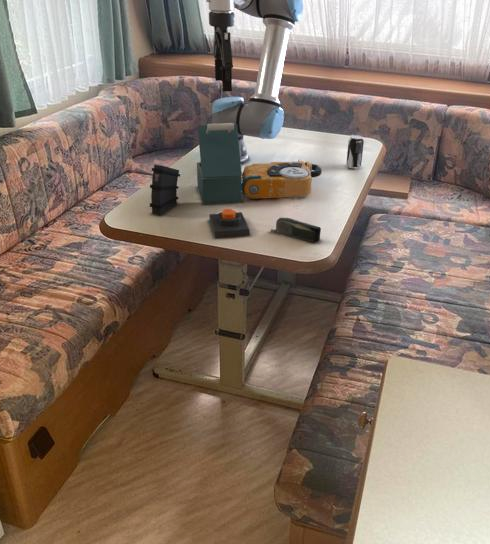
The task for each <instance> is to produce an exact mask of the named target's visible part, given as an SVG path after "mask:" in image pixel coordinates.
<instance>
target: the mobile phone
mask: <svg viewBox="0 0 490 544" xmlns="http://www.w3.org/2000/svg"><path fill="white" fill-rule="evenodd" d="M270 232H271V233H276V234H280V235H284V236H288V237H291V238H294V239H298V240H301V241H305V242H309V243H312V244H313V243H318V242H319V241H320V240H321V232H322V228H321V227H320V226H317V225H314V224H310V223H307V222H303V221H300V220H297V219H294V218H292V217H279V218H278V219H277V220H276V222H275V229H273V228H271V229H270Z"/></svg>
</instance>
